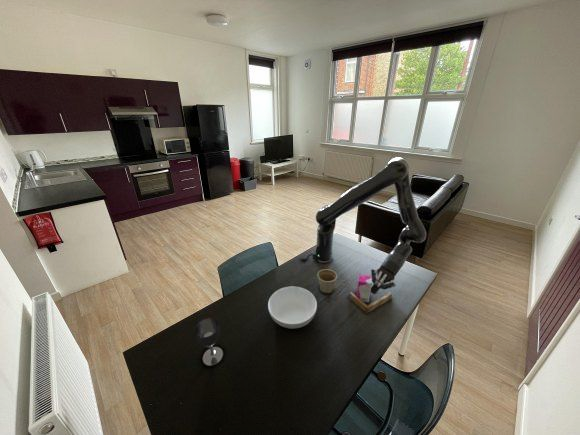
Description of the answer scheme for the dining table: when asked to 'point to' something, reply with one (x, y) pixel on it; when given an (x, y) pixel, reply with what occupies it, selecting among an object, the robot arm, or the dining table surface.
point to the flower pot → (326, 280)
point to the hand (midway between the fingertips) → (372, 293)
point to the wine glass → (209, 340)
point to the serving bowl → (292, 307)
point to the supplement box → (364, 288)
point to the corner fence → (372, 305)
